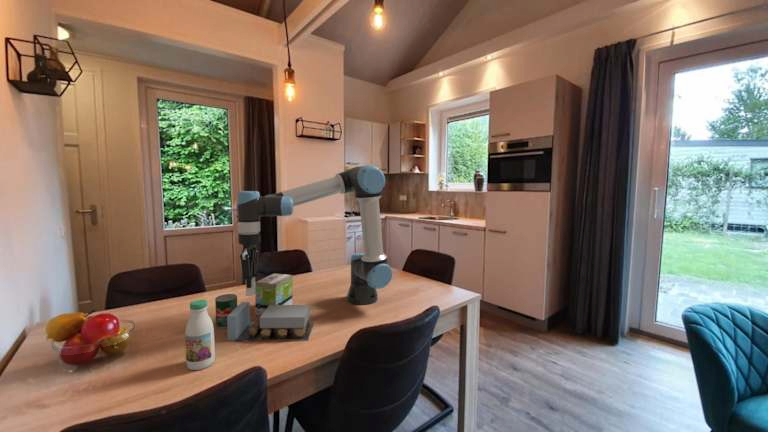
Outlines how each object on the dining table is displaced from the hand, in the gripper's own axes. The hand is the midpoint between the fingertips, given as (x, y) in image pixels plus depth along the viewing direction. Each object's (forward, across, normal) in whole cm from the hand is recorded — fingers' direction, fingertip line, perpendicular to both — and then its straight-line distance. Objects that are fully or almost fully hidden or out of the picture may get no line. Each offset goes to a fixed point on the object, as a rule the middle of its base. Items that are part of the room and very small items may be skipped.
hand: (250, 294), depth 121 cm
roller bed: (+14, 0, +10) cm, 18 cm away
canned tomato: (+15, -7, -12) cm, 20 cm away
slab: (+10, 0, +13) cm, 17 cm away
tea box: (+15, -21, +3) cm, 26 cm away
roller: (+13, 0, 0) cm, 13 cm away
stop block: (+14, 0, -4) cm, 15 cm away
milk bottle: (+15, +22, -8) cm, 28 cm away
